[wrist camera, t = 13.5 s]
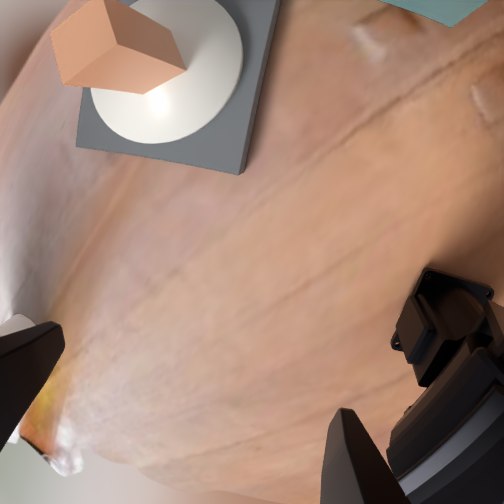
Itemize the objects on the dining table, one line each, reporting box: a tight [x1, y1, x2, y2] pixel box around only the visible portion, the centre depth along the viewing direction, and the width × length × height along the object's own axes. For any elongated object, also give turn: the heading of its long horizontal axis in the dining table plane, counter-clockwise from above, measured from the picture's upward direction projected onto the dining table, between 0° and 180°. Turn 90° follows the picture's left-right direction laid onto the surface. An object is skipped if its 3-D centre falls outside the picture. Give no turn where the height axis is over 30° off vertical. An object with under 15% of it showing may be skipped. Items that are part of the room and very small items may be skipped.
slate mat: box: [76, 0, 281, 175], centre depth 17 cm, size 12×12×2 cm
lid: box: [50, 0, 244, 144], centre depth 13 cm, size 10×10×8 cm
